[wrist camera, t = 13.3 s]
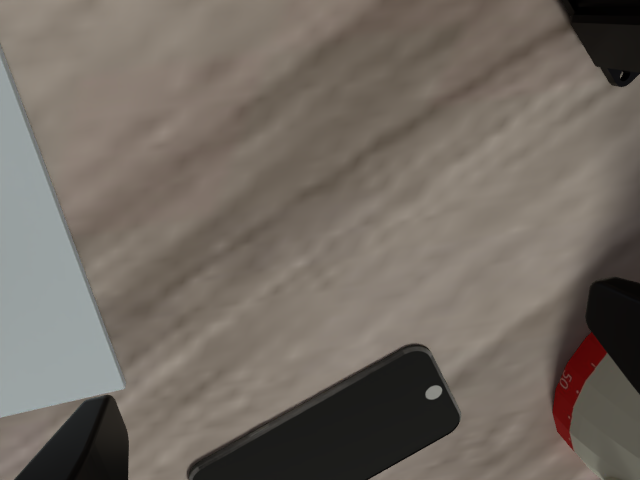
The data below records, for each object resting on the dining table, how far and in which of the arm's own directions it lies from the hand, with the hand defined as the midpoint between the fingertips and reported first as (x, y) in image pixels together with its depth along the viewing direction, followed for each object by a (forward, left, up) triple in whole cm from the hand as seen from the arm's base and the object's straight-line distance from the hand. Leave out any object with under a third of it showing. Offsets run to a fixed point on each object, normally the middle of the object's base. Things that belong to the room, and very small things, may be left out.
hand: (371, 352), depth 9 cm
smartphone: (+10, +14, -14) cm, 22 cm away
